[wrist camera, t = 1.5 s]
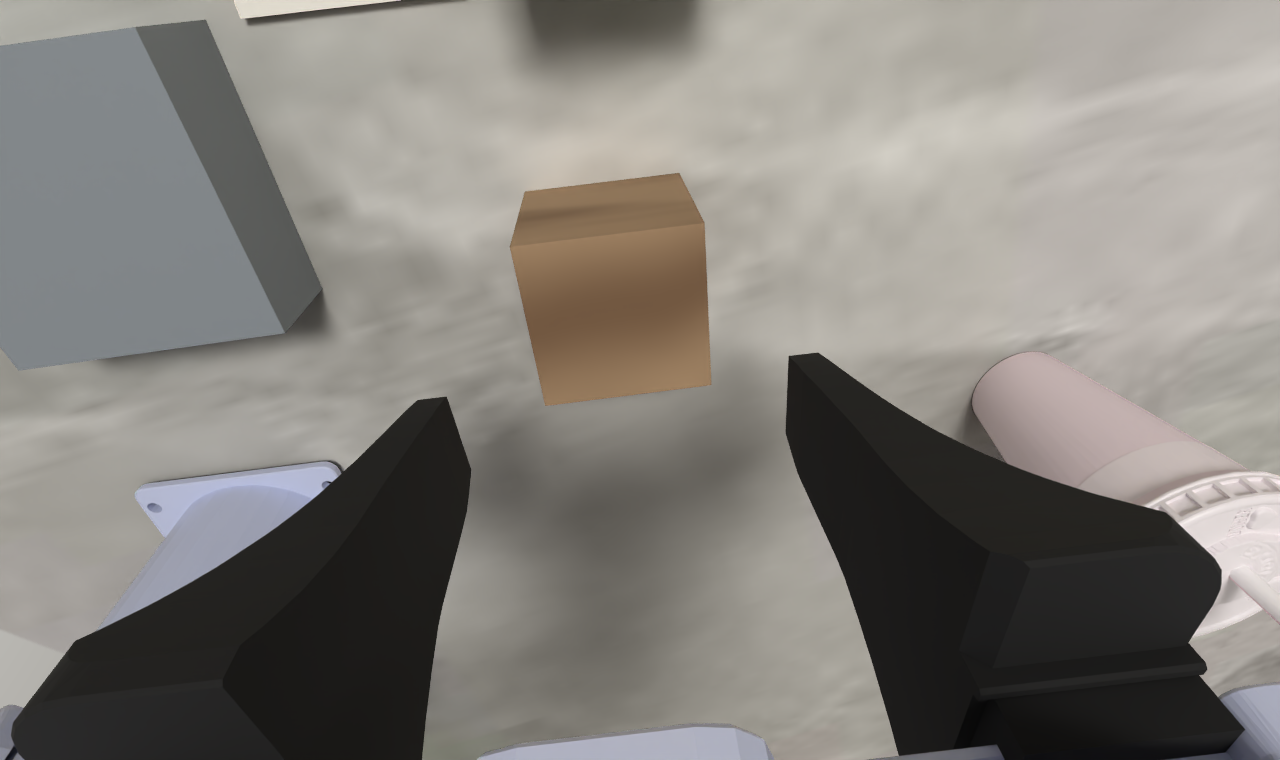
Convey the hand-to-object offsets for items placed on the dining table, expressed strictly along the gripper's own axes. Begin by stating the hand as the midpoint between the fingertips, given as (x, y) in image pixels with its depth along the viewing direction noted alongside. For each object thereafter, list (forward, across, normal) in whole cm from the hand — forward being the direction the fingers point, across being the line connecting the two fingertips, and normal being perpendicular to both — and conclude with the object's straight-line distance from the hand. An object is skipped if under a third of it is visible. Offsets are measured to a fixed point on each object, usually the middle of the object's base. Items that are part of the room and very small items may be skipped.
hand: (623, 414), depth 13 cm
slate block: (+10, +14, -4) cm, 17 cm away
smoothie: (+10, -16, +8) cm, 21 cm away
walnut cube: (+10, 0, 0) cm, 10 cm away
